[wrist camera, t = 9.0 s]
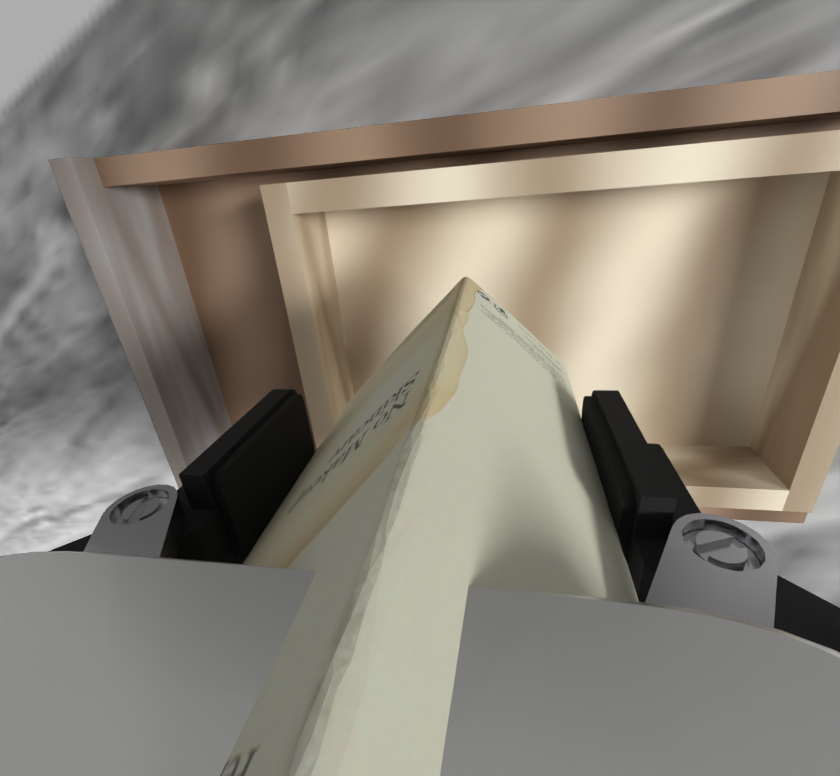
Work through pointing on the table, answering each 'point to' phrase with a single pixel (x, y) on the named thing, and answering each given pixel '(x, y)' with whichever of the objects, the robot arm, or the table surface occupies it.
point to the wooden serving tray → (324, 159)
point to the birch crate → (603, 291)
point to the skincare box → (423, 541)
